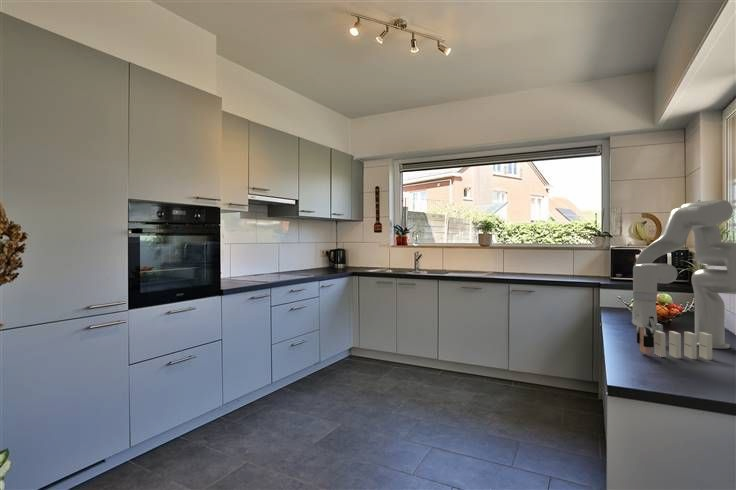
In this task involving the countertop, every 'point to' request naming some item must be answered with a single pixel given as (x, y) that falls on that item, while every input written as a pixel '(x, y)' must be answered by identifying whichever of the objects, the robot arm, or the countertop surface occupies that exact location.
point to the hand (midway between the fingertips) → (645, 344)
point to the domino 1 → (642, 348)
